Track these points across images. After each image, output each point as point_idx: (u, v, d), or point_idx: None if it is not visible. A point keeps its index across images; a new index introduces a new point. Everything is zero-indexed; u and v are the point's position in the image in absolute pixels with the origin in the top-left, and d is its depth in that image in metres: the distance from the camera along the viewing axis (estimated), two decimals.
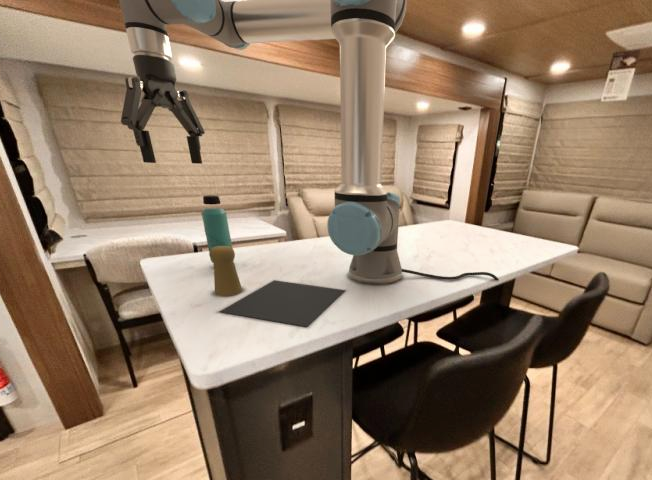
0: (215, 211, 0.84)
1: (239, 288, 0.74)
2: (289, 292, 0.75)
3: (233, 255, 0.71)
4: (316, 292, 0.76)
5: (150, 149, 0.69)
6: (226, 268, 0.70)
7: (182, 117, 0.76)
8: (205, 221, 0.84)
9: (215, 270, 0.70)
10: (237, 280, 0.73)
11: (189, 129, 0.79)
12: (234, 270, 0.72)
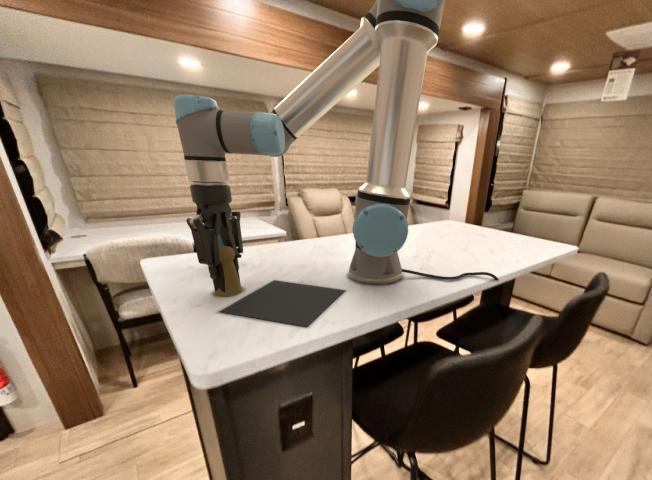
0: None
1: (239, 288, 0.74)
2: (289, 292, 0.75)
3: (233, 255, 0.71)
4: (316, 292, 0.76)
5: (223, 280, 0.70)
6: (226, 268, 0.70)
7: (227, 237, 0.71)
8: None
9: None
10: (237, 280, 0.73)
11: None
12: (234, 270, 0.72)
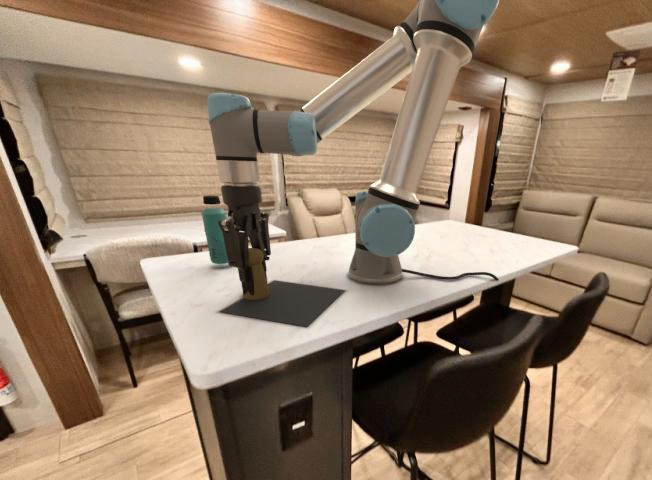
0: (215, 211, 0.84)
1: (268, 291, 0.72)
2: (289, 292, 0.75)
3: (262, 257, 0.69)
4: (316, 292, 0.76)
5: (252, 283, 0.69)
6: (255, 270, 0.69)
7: (256, 239, 0.69)
8: (205, 221, 0.84)
9: None
10: (265, 283, 0.72)
11: None
12: (263, 273, 0.71)
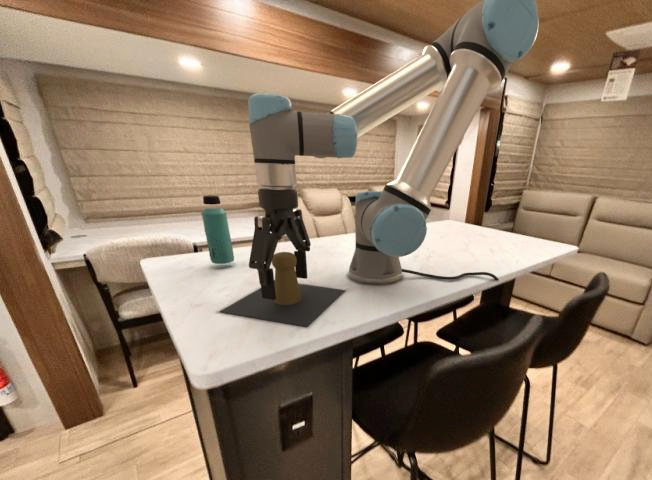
0: (215, 211, 0.84)
1: (300, 296, 0.71)
2: None
3: (296, 262, 0.67)
4: (316, 292, 0.76)
5: (272, 287, 0.62)
6: (288, 275, 0.67)
7: (295, 237, 0.69)
8: (205, 221, 0.84)
9: (277, 278, 0.67)
10: (298, 288, 0.70)
11: (298, 246, 0.72)
12: (295, 277, 0.69)
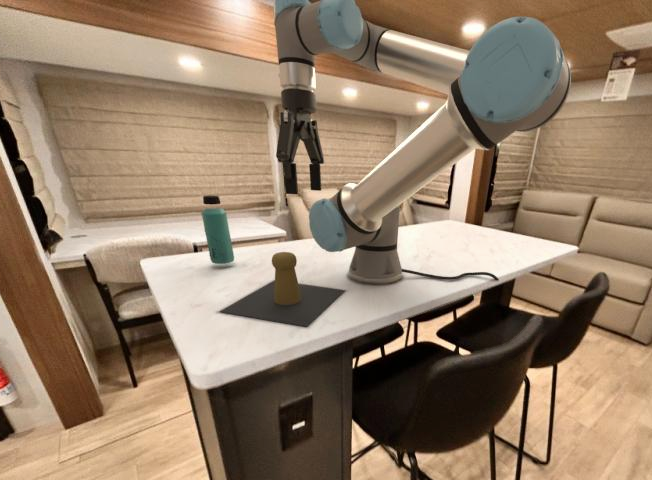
0: (215, 211, 0.84)
1: (300, 296, 0.71)
2: None
3: (296, 262, 0.67)
4: (316, 292, 0.76)
5: (295, 181, 0.69)
6: (288, 275, 0.67)
7: (312, 146, 0.76)
8: (205, 221, 0.84)
9: (277, 278, 0.67)
10: (298, 288, 0.70)
11: (314, 157, 0.79)
12: (295, 277, 0.69)
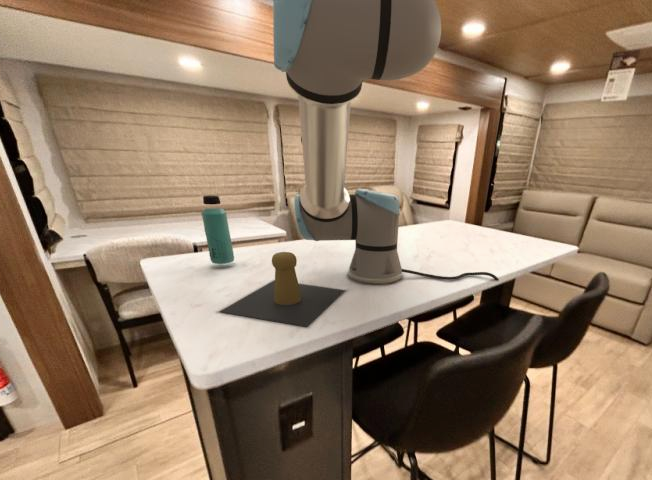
0: (215, 211, 0.84)
1: (300, 296, 0.71)
2: None
3: (296, 262, 0.67)
4: (316, 292, 0.76)
5: None
6: (288, 275, 0.67)
7: None
8: (205, 221, 0.84)
9: (277, 278, 0.67)
10: (298, 288, 0.70)
11: None
12: (295, 277, 0.69)
